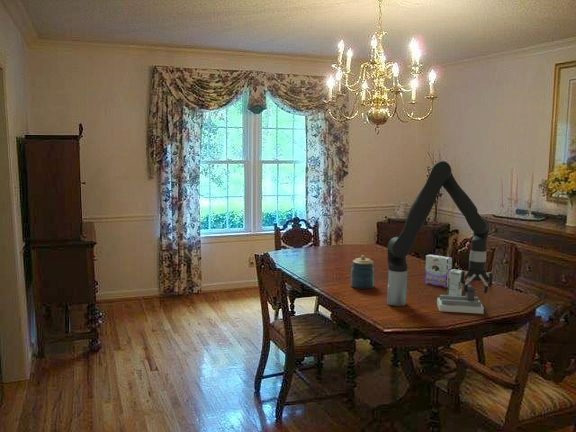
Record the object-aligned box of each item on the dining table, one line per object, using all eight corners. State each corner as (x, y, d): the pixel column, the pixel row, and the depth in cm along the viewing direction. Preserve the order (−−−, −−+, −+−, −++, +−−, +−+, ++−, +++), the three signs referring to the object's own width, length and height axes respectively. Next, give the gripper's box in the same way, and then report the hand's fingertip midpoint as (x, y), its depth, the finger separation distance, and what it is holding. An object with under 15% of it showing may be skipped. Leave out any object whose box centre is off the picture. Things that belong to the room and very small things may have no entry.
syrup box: (451, 295, 277) (452, 268, 275) (462, 297, 273) (463, 270, 271) (446, 298, 272) (448, 270, 270) (457, 300, 269) (459, 272, 267)
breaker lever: (467, 303, 252) (468, 287, 251) (465, 300, 257) (466, 284, 256) (473, 304, 251) (474, 287, 250) (471, 301, 256) (472, 284, 255)
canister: (357, 281, 303) (358, 251, 300) (377, 285, 295) (378, 254, 293) (346, 286, 292) (347, 255, 290) (367, 290, 285) (368, 258, 282)
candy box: (451, 286, 296) (452, 257, 293) (446, 288, 291) (447, 259, 289) (428, 281, 305) (430, 253, 303) (423, 283, 301) (425, 255, 298)
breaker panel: (439, 311, 251) (440, 300, 250) (436, 303, 263) (437, 293, 262) (483, 313, 248) (484, 303, 247) (478, 306, 259) (479, 296, 259)
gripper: (491, 258, 253) (489, 291, 255) (461, 257, 255) (458, 289, 258) (494, 262, 245) (492, 295, 248) (463, 260, 248) (461, 293, 250)
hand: (475, 292), depth 253 cm, fingers open, 8 cm apart
